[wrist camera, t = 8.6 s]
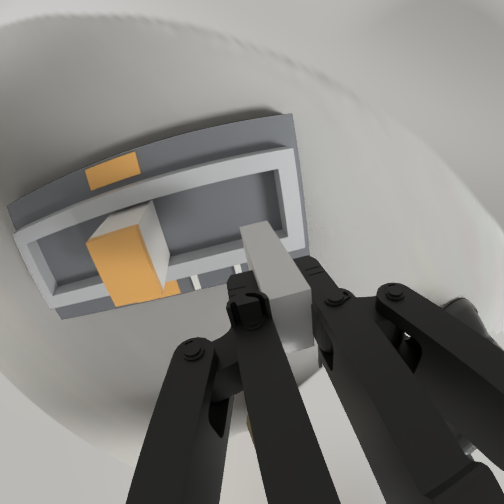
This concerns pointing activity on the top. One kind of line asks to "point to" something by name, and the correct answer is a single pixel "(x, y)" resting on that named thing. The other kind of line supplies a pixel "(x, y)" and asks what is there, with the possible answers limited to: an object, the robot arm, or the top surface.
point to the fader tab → (131, 254)
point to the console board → (167, 209)
